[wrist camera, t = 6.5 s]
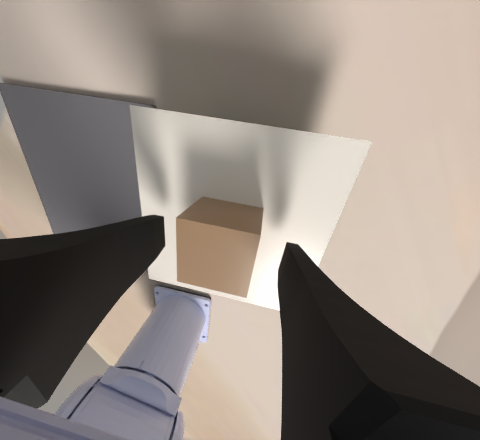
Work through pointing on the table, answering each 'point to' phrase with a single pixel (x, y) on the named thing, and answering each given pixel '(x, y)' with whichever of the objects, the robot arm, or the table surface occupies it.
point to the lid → (238, 197)
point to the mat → (77, 155)
